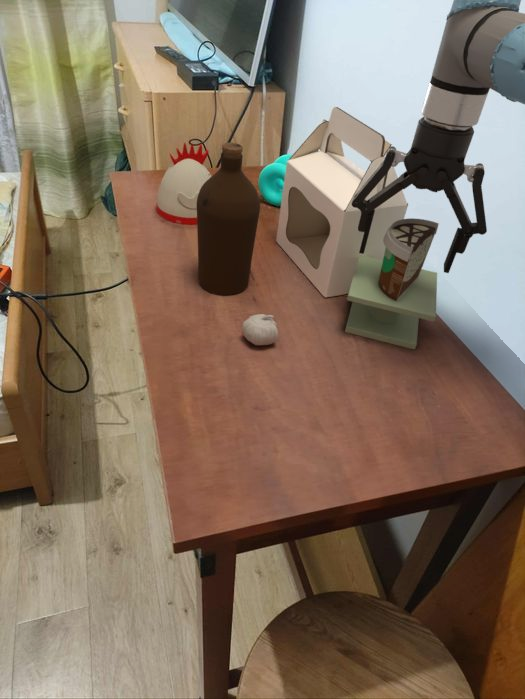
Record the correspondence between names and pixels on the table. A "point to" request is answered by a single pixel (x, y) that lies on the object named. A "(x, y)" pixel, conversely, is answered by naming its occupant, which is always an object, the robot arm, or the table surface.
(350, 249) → the gable box
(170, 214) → the kitchen timer
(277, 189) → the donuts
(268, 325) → the garlic
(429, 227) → the food container
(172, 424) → the table surface
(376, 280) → the stand
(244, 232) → the olive oil
